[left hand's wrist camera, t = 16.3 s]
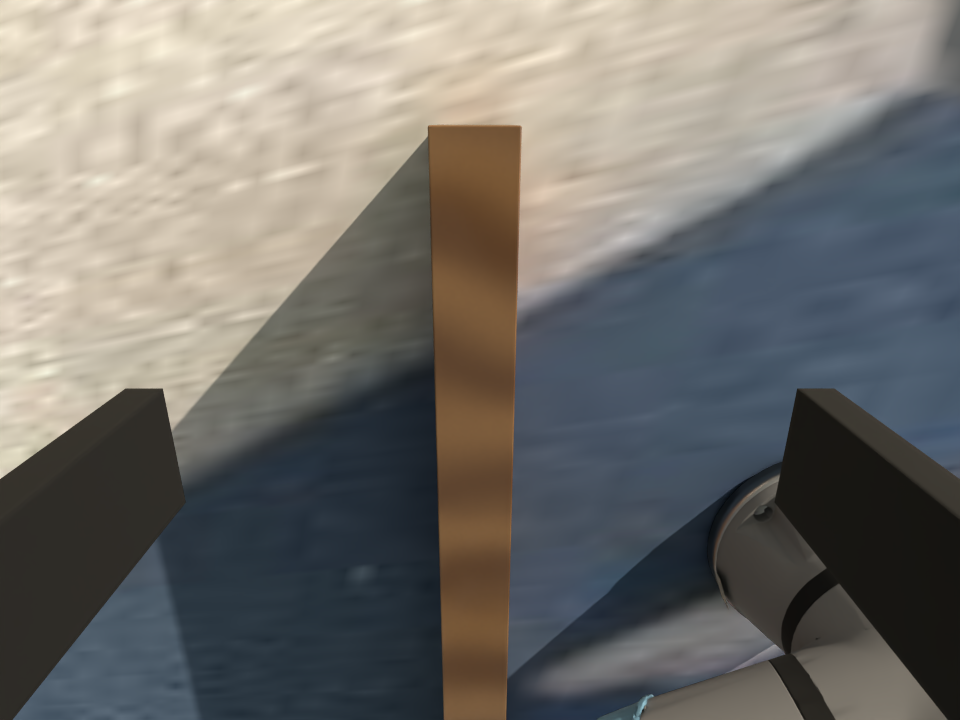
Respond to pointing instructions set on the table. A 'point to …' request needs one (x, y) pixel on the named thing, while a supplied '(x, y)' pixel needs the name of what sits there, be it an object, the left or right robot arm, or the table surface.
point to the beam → (474, 402)
